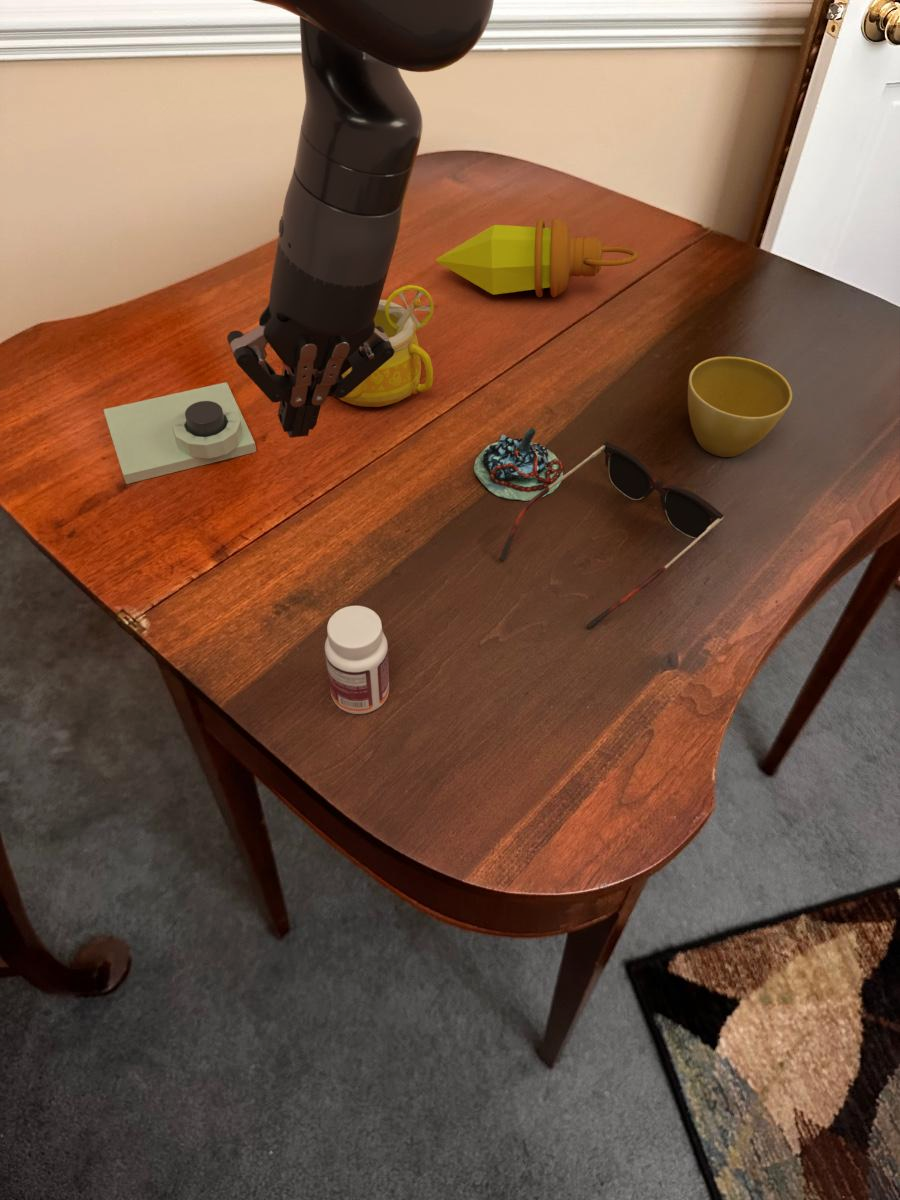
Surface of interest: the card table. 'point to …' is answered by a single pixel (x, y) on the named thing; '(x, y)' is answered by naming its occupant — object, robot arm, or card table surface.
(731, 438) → the flower pot
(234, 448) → the scale
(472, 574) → the card table surface
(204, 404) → the button
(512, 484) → the dish
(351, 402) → the mug
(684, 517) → the sunglasses
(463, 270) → the plumb bob
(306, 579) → the card table surface
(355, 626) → the pill bottle
